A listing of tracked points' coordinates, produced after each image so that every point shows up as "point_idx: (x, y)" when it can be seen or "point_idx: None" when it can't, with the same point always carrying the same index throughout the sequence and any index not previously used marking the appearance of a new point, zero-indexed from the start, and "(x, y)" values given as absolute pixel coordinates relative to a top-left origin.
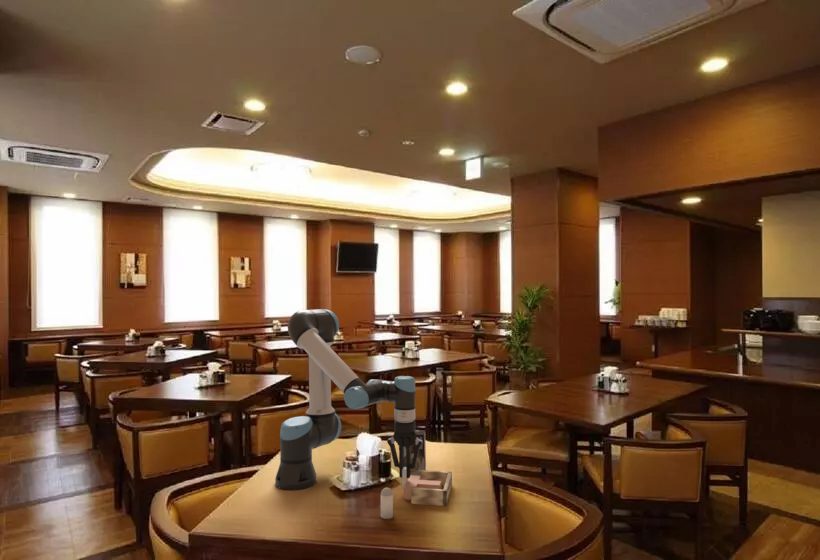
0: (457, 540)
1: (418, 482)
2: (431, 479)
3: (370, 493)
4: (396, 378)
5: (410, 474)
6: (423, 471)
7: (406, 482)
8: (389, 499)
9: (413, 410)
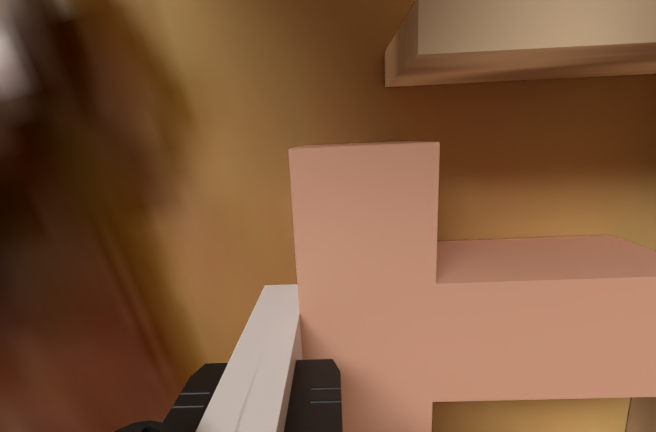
0: None
1: (441, 363)
2: (549, 68)
3: (35, 365)
4: None
5: (340, 382)
6: (488, 51)
7: None
8: None
9: None
